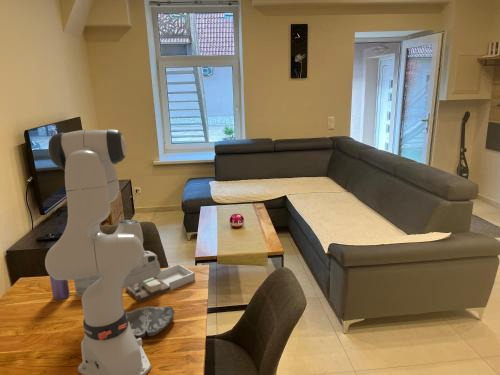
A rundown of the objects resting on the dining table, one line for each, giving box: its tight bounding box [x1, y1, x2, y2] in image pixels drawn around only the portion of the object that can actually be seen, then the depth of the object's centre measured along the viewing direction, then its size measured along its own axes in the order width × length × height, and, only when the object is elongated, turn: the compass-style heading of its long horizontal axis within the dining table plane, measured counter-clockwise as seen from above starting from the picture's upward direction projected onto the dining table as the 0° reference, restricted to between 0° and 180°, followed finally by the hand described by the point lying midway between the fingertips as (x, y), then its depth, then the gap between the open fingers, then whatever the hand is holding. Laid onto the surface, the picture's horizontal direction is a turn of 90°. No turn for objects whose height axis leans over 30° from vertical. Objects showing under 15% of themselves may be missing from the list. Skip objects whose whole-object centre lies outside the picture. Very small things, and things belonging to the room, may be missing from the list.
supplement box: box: [73, 274, 101, 297], centre depth 156 cm, size 17×13×9 cm
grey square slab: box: [125, 277, 171, 303], centre depth 153 cm, size 13×13×2 cm
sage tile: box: [142, 277, 154, 288], centre depth 155 cm, size 4×4×2 cm
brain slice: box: [125, 305, 175, 338], centre depth 129 cm, size 20×17×3 cm
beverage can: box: [48, 274, 70, 301], centre depth 149 cm, size 6×6×15 cm
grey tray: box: [155, 263, 196, 291], centre depth 161 cm, size 12×12×4 cm
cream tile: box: [146, 280, 161, 293], centre depth 151 cm, size 4×4×2 cm
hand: (137, 292), depth 147 cm, fingers closed
